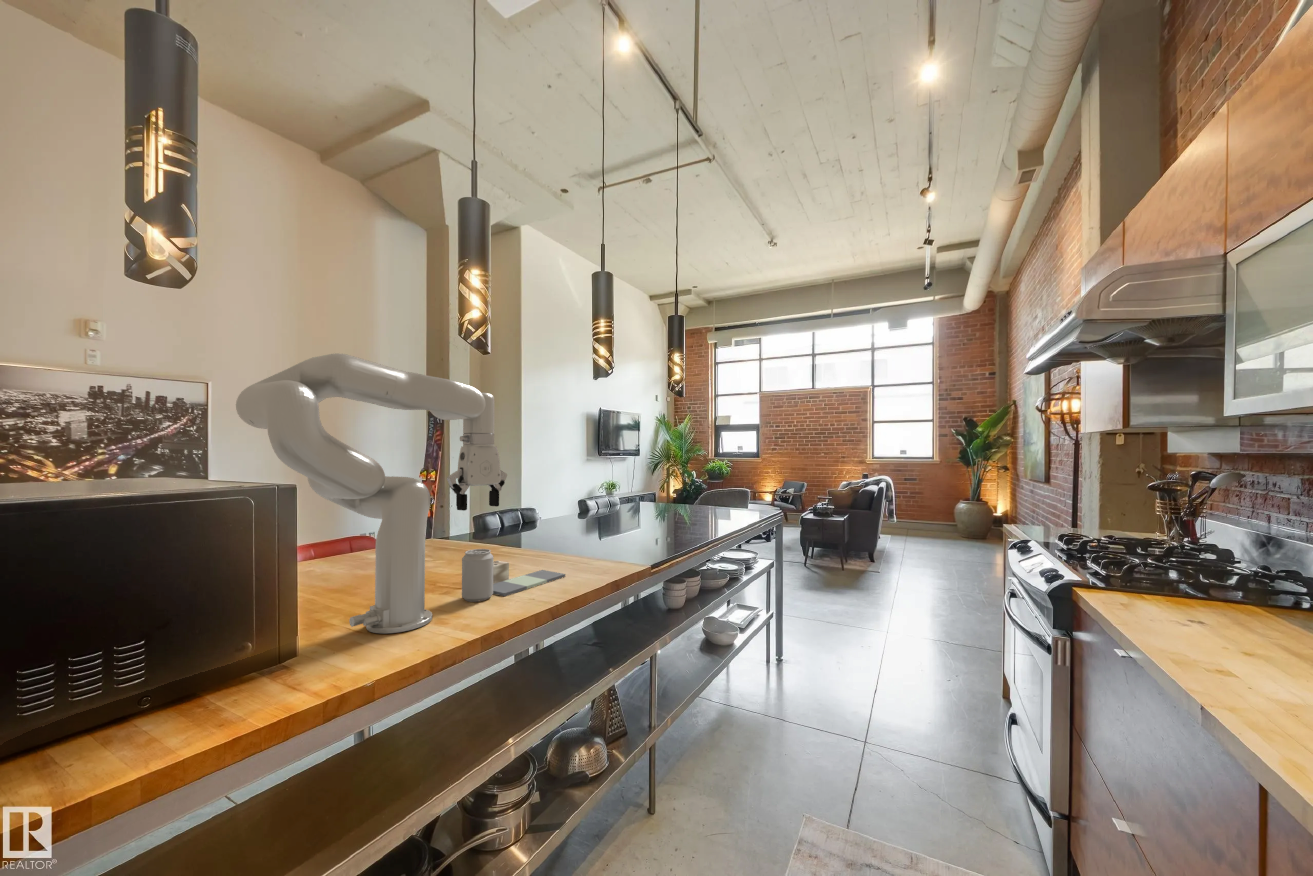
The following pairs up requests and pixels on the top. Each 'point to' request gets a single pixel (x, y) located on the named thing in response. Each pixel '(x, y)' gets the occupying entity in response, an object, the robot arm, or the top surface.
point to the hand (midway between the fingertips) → (478, 508)
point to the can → (477, 575)
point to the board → (524, 582)
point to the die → (500, 571)
